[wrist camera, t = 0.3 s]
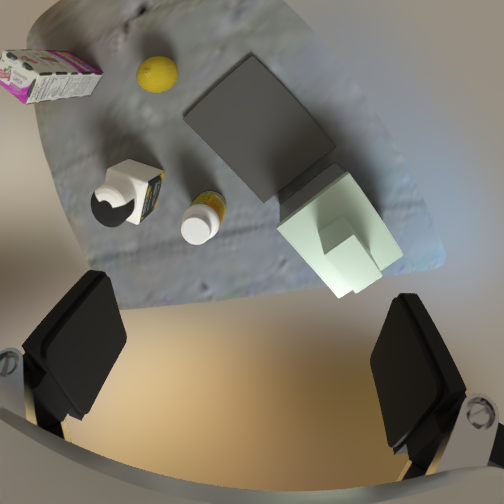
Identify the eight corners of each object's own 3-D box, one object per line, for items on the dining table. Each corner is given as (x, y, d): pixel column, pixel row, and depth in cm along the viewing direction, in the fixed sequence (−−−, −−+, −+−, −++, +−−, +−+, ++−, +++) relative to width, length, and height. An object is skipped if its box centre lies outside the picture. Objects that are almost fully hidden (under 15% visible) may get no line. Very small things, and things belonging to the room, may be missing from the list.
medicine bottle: (155, 209, 47) (123, 240, 36) (120, 195, 46) (82, 223, 35) (165, 170, 43) (132, 193, 33) (128, 157, 43) (88, 176, 32)
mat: (184, 118, 39) (182, 119, 38) (253, 56, 34) (252, 55, 33) (264, 201, 45) (263, 203, 44) (334, 146, 39) (335, 146, 39)
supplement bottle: (215, 184, 44) (199, 204, 35) (233, 211, 46) (223, 238, 37) (188, 201, 46) (168, 224, 37) (207, 227, 48) (191, 255, 39)
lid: (276, 222, 39) (276, 251, 31) (345, 169, 34) (362, 186, 27) (336, 289, 43) (345, 325, 36) (398, 247, 39) (419, 278, 31)
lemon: (153, 96, 37) (129, 96, 30) (150, 64, 35) (126, 58, 28) (186, 89, 37) (167, 87, 30) (183, 56, 34) (164, 47, 27)
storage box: (279, 205, 45) (279, 225, 38) (334, 162, 40) (346, 174, 33) (330, 264, 49) (338, 291, 42) (381, 228, 45) (398, 250, 38)
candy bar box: (56, 74, 35) (-9, 78, 20) (68, 50, 33) (3, 47, 18) (91, 98, 37) (23, 106, 23) (105, 73, 35) (38, 71, 21)
